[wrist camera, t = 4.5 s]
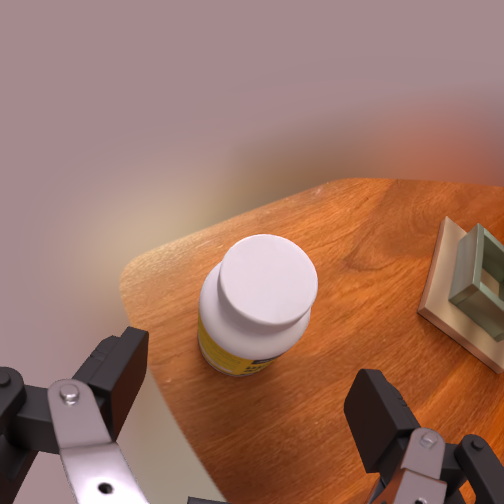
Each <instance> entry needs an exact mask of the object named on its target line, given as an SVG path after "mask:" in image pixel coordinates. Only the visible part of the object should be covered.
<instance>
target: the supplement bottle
mask: <svg viewBox="0 0 504 504" xmlns="http://www.w3.org/2000/svg"><path fill="white" fill-rule="evenodd" d="M317 289H318V280H317V274H316V270H315V268H314V265H313V263H312V262H311V260H310V259H309V257H308V256H307V254H306V253H305V252H304V251H303V250H302V249H301V248H299V247H298V246H297V245H296V244H294V243H293V242H291V241H289V240H287V239H284V238H282V237H279V236H275V235H269V234H261V235H253V236H249V237H246V238H244V239H242V240H240V241H238V242H237V243H235V244H234V245H233V246H232V247H231V248H230V249H229V250H228V251H227V253H226V254H225V256H224V258H223V260H222V261H221V262H220V263H219V264H217V265H216V266H215V267H214V268H213V269H212V270H211V272H210V273H209V274H208V276H207V277H206V279H205V281H204V283H203V286H202V289H201V293H200V298H199V313H198V343H199V347H200V350H201V352H202V354H203V356H204V358H205V359H206V360H207V362H208V363H209V364H210V365H211V366H212V367H214V368H215V369H216V370H218V371H220V372H222V373H224V374H227V375H231V376H248V375H251V374H254V373H257V372H259V371H261V370H262V369H264V368H265V367H266V366H268V365H269V364H270V363H272V362H273V361H274V360H276V359H277V358H278V357H280V356H281V355H282V354H284V353H285V352H287V351H288V350H289V349H290V348H291V347H292V346H293V345H295V344H296V343H297V341H298V340H299V339H300V338H301V336H302V335H303V333H304V332H305V330H306V328H307V325H308V323H309V319H310V313H311V306H312V304H313V302H314V300H315V298H316V294H317Z"/></svg>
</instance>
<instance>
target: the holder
mask: <svg viewBox="0 0 504 504" xmlns="http://www.w3.org/2000/svg"><path fill="white" fill-rule="evenodd" d="M417 312H418V313H419V314H420V315H422V316H423V317H424V318H426V319H427V320H428V321H430V322H431V323H432V324H434V325H435V326H436V327H438V328H439V329H440V330H442V331H443V332H444V333H446V334H447V335H448V336H450V337H451V338H452V339H454V340H455V341H456V342H458V343H459V344H460V345H462V346H463V347H464V348H465V349H467V350H468V351H469V352H471V353H472V354H473V355H474V356H476V357H477V358H478V359H479V360H481V361H482V362H483V363H485V364H486V365H487V366H488V367H490V368H491V369H492V370H493V371H495V372H496V373H497V374H499V373H502V372H504V246H503V245H502V244H501V243H500V242H499V241H498V240H497V239H496V238H495V237H494V236H492V235H491V234H490V233H489V232H488V231H487V230H486V229H484V227H483V226H481V225H480V224H479V223H478V224H477V225H476V226H475V227H474V228H473V229H471V230H470V231H469V232H468V233H466V232H465V231H464V230H463V229H461V228H460V227H459V226H458V225H457V224H455V223H454V222H453V221H452V220H450V219H449V218H448V217H447V216H446V217H445V218H444V219H443V220H442V222H441V224H440V229H439V234H438V238H437V243H436V247H435V251H434V255H433V259H432V263H431V267H430V271H429V274H428V278H427V281H426V285H425V288H424V292H423V295H422V298H421V301H420V305H419V308H418V311H417Z"/></svg>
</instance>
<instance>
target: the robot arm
mask: <svg viewBox="0 0 504 504" xmlns="http://www.w3.org/2000/svg"><path fill="white" fill-rule="evenodd" d="M148 341H149V333H148V331H144V330H141V329H137V328H133V327H130V326H129V327H127V329H126V330H125V331H124V333H123V334H122V335H121V337H116V336H113V335H112V336H110V337H108V338H106V339H104V340H102V341H101V342H100V343H99V345H98V346H97V347H96V349H95V350H94V351H93V352H92V353H91V355H90V357H88V358H87V359H86V361H85V362H84V363H83V365H82V366H81V367H80V368H79V370H78V371H77V372H76V373H75V375H74V376H73V377H72V379H62V380H58V381H56V382H54V383H53V384H51V385H50V387H49V388H40V387H34V386H30V385H24V381H23V378H22V376H21V374H20V373H19V372H18V371H16V370H15V369H12V368H9V367H0V504H13V502H14V499H15V497H16V495H17V493H18V491H19V489H20V487H21V485H22V483H23V481H24V479H25V477H26V475H27V472H28V471H29V469H30V467H31V465H32V463H33V461H34V459H35V457H36V455H37V454H38V452H39V451H42V452H47V453H53V454H59V455H60V457H61V461H62V464H63V468H64V471H65V474H66V477H67V480H68V483H69V486H70V488H71V491H72V494H73V497H74V499H75V502H76V504H150V503H149V501H148V499H147V498H146V496H145V494H144V493H143V491H142V489H141V487H140V486H139V484H138V482H137V480H136V478H135V477H134V475H133V473H132V471H131V469H130V467H129V465H128V463H127V461H126V459H125V457H124V455H123V453H122V451H121V449H120V447H119V445H118V444H117V442H116V440H117V437H118V435H119V433H120V431H121V428H122V426H123V424H124V422H125V420H126V418H127V415H128V413H129V411H130V409H131V407H132V404H133V402H134V400H135V398H136V396H137V394H138V391H139V389H140V387H141V385H142V383H143V380H144V378H145V374H146V369H147V355H148ZM344 413H345V416H346V419H347V421H348V424H349V427H350V429H351V432H352V435H353V438H354V440H355V443H356V446H357V448H358V451H359V454H360V457H361V459H362V462H363V465H364V468H365V470H366V473H376V472H379V473H380V476H379V477H378V479H377V480H376V482H375V484H374V486H373V488H372V490H371V492H370V494H369V496H368V498H367V500H366V501H365V503H364V504H466V503H465V501H464V499H463V497H462V495H461V493H460V490H459V488H460V487H461V486H462V485H463V484H464V483H465V482H466V481H467V480H468V481H469V483H470V485H471V487H472V488H473V490H474V492H475V494H476V501H475V504H504V467H503V466H502V464H501V463H500V461H499V460H498V458H497V457H496V455H495V454H494V452H493V451H492V449H491V448H490V446H489V445H488V443H487V442H486V441H485V440H484V439H483V438H481V437H479V436H477V435H473V434H469V435H466V436H464V438H463V439H462V440H461V442H460V443H459V444H458V445H457V444H449V443H445V441H444V439H443V437H442V436H441V435H440V434H439V433H437V432H436V431H434V430H432V429H429V428H421V426H420V425H419V423H418V421H417V420H416V418H415V417H414V415H413V413H412V412H411V410H410V409H409V407H407V404H406V402H405V401H404V400H403V397H402V396H401V394H400V393H399V391H398V390H397V389H396V388H395V387H394V386H392V385H391V384H390V383H389V382H387V380H386V379H385V377H384V375H383V374H382V372H381V371H380V370H374V369H361V370H359V372H358V373H357V376H356V378H355V380H354V382H353V384H352V386H351V388H350V391H349V393H348V395H347V397H346V399H345V402H344ZM187 504H231V503H227V502H219V501H212V500H205V499H199V498H194V497H188V502H187Z"/></svg>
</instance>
